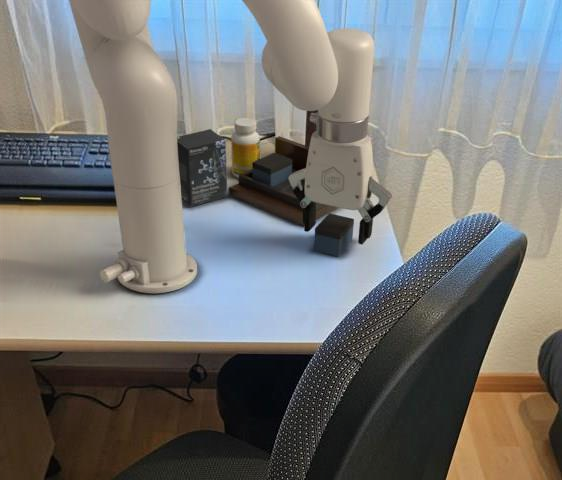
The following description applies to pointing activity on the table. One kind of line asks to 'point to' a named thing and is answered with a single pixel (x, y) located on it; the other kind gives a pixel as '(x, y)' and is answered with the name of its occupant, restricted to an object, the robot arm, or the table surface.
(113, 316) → the table surface
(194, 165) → the box
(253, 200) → the brown wooden organizer
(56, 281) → the table surface
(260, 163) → the dark grey block
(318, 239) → the blue lidded block
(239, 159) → the supplement bottle
